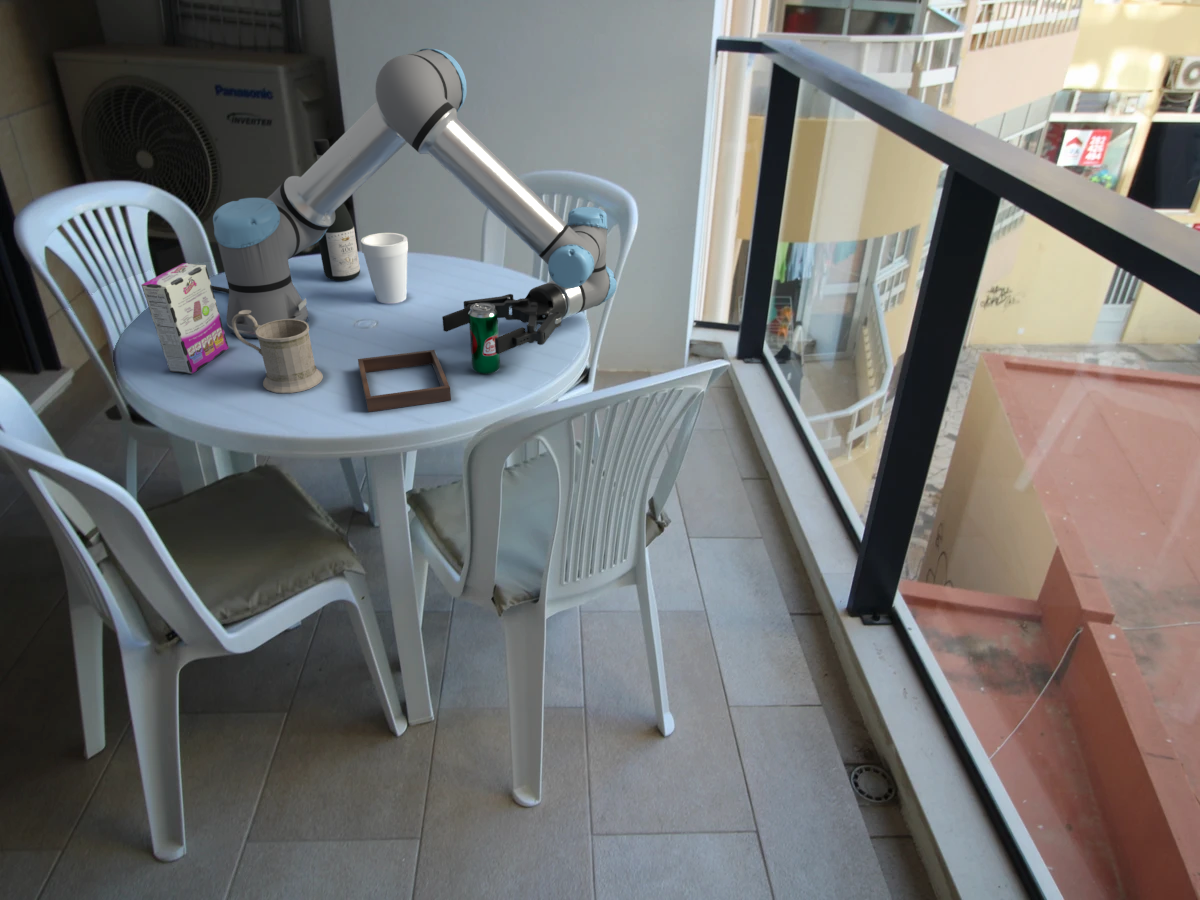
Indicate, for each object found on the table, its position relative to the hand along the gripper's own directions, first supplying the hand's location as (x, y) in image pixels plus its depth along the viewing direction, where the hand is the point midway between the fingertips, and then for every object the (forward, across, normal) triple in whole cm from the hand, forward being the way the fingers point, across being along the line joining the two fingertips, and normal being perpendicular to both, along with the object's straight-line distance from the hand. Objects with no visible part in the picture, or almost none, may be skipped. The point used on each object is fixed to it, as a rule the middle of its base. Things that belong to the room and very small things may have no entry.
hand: (469, 335), depth 134 cm
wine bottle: (-14, +60, -8) cm, 62 cm away
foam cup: (-13, +41, -8) cm, 43 cm away
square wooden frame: (+11, +6, -8) cm, 14 cm away
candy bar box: (+30, +41, -8) cm, 51 cm away
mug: (+24, +24, -8) cm, 34 cm away
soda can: (-3, 0, -8) cm, 9 cm away
